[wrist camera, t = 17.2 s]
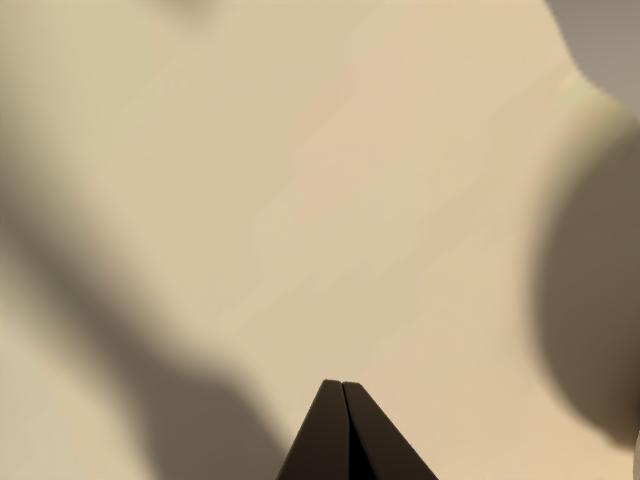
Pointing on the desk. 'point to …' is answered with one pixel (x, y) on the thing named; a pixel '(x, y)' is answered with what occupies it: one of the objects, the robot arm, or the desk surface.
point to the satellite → (637, 460)
